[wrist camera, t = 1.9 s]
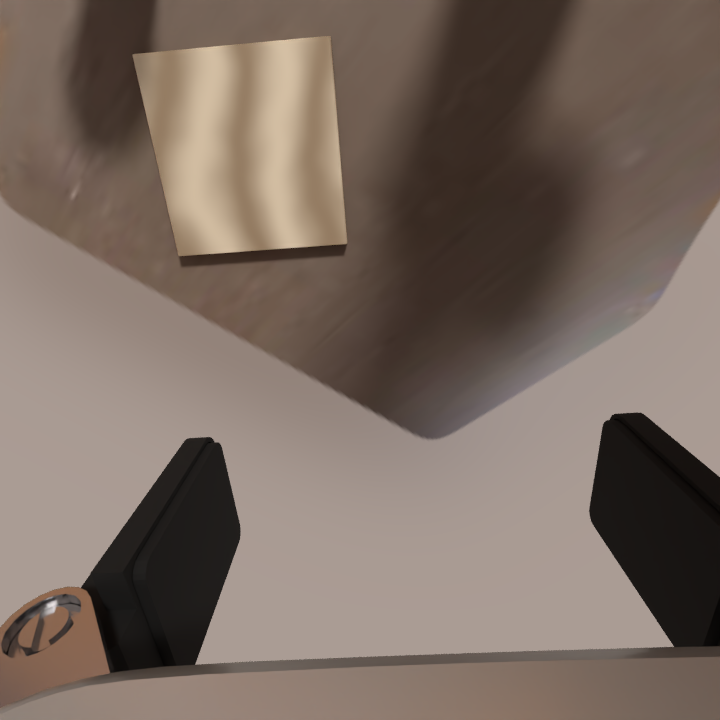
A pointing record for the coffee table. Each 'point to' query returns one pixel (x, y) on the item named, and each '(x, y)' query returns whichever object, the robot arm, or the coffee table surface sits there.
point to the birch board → (247, 144)
